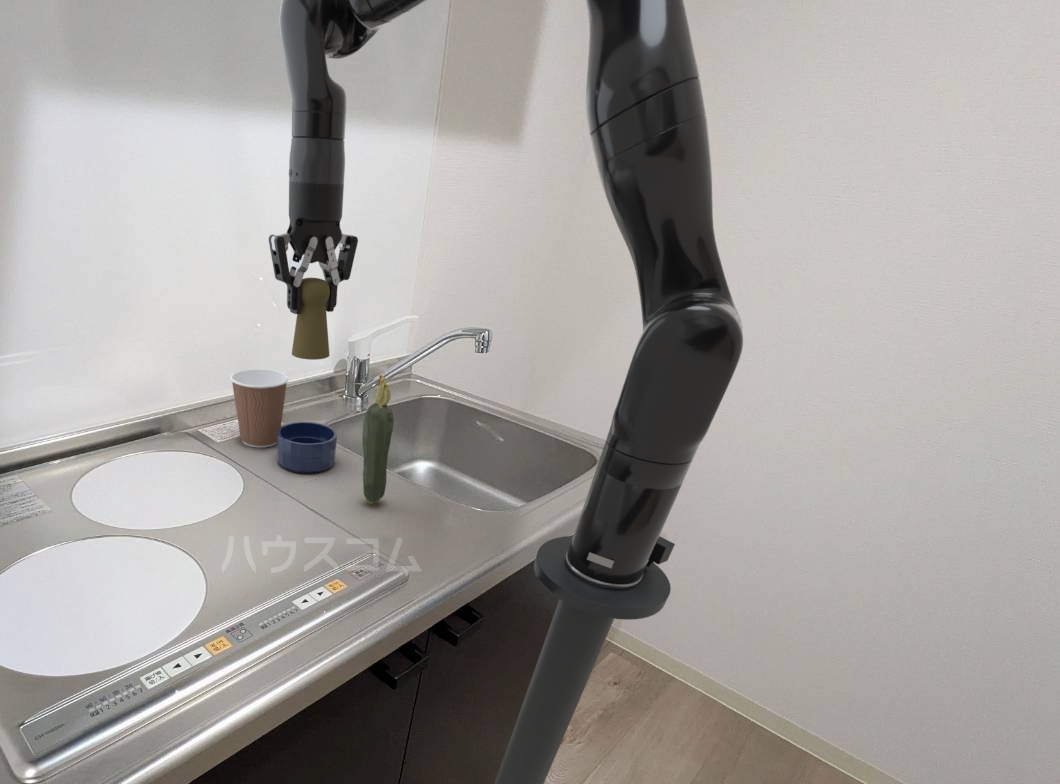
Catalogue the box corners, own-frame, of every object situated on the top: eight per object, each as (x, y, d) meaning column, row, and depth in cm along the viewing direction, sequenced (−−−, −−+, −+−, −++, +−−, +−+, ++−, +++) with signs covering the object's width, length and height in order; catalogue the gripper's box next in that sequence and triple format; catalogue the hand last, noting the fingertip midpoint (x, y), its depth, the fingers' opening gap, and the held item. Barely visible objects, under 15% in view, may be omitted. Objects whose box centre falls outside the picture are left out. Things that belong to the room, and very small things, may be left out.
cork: (285, 356, 91) (285, 279, 85) (301, 347, 95) (302, 273, 89) (320, 361, 89) (323, 283, 83) (335, 352, 94) (339, 278, 87)
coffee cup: (296, 436, 112) (297, 374, 105) (272, 455, 104) (272, 389, 97) (249, 426, 115) (247, 365, 108) (222, 444, 107) (219, 379, 100)
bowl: (315, 446, 108) (316, 418, 105) (346, 468, 101) (348, 438, 98) (266, 456, 104) (266, 427, 101) (295, 479, 97) (295, 448, 94)
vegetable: (383, 513, 89) (399, 383, 77) (355, 511, 89) (367, 380, 78) (383, 499, 92) (398, 373, 81) (355, 497, 92) (367, 371, 81)
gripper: (283, 178, 73) (282, 320, 83) (375, 183, 80) (364, 313, 89) (256, 176, 79) (258, 310, 88) (345, 180, 85) (338, 304, 94)
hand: (312, 311), depth 89 cm, fingers closed on cork, 5 cm apart
